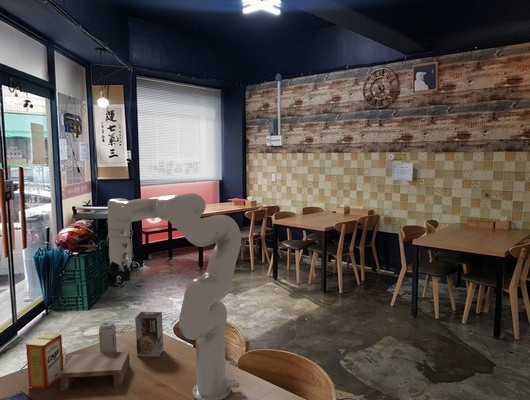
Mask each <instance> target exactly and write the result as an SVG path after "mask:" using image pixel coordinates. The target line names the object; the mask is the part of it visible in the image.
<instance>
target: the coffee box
mask: <svg viewBox="0 0 530 400" xmlns="http://www.w3.org/2000/svg"><path fill="white" fill-rule="evenodd" d="M134 321H135V336H136V337H135V338H136V356H137V357H153V358H155V357H156V358H159V357H160V355H162V353H163V352H164V335H163V334H164V332H163V331H164V330H163V312H162V311H140V312H139V313H138V314H137V315H136V316H135V317H134Z"/></svg>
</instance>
